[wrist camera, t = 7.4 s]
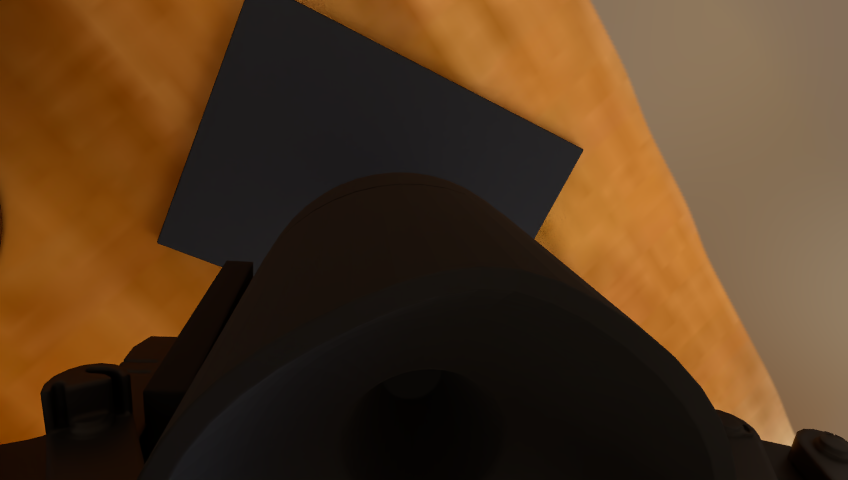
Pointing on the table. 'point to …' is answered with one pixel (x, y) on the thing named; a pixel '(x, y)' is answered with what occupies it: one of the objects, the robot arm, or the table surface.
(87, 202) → the table surface
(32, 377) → the table surface
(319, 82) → the desk mat
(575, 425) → the pen holder
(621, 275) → the table surface
